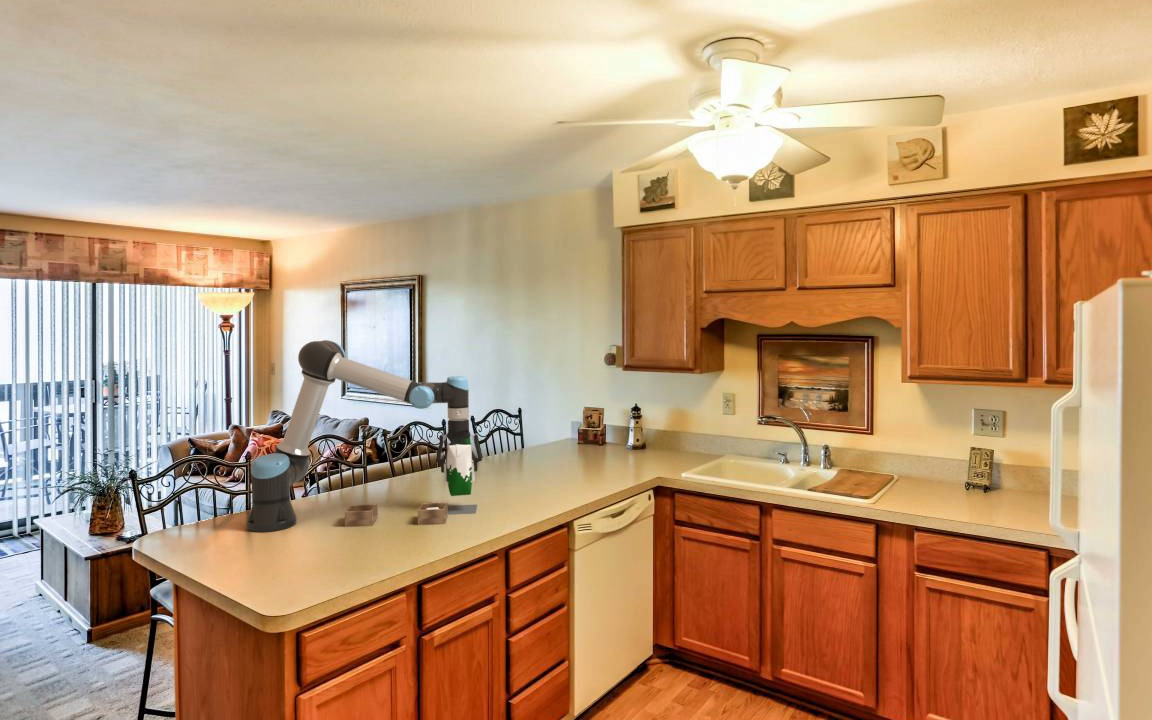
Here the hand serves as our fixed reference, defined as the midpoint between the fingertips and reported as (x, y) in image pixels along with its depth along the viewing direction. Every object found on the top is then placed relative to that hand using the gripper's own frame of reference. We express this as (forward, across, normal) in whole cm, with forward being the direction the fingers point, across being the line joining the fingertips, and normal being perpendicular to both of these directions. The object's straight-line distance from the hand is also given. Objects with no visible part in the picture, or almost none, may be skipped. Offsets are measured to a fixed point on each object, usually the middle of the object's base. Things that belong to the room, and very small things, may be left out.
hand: (459, 480), depth 237 cm
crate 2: (+11, -8, -13) cm, 19 cm away
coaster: (+11, 0, 0) cm, 11 cm away
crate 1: (+11, -32, -12) cm, 36 cm away
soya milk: (+5, 0, 0) cm, 5 cm away
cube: (+10, -8, -13) cm, 19 cm away
